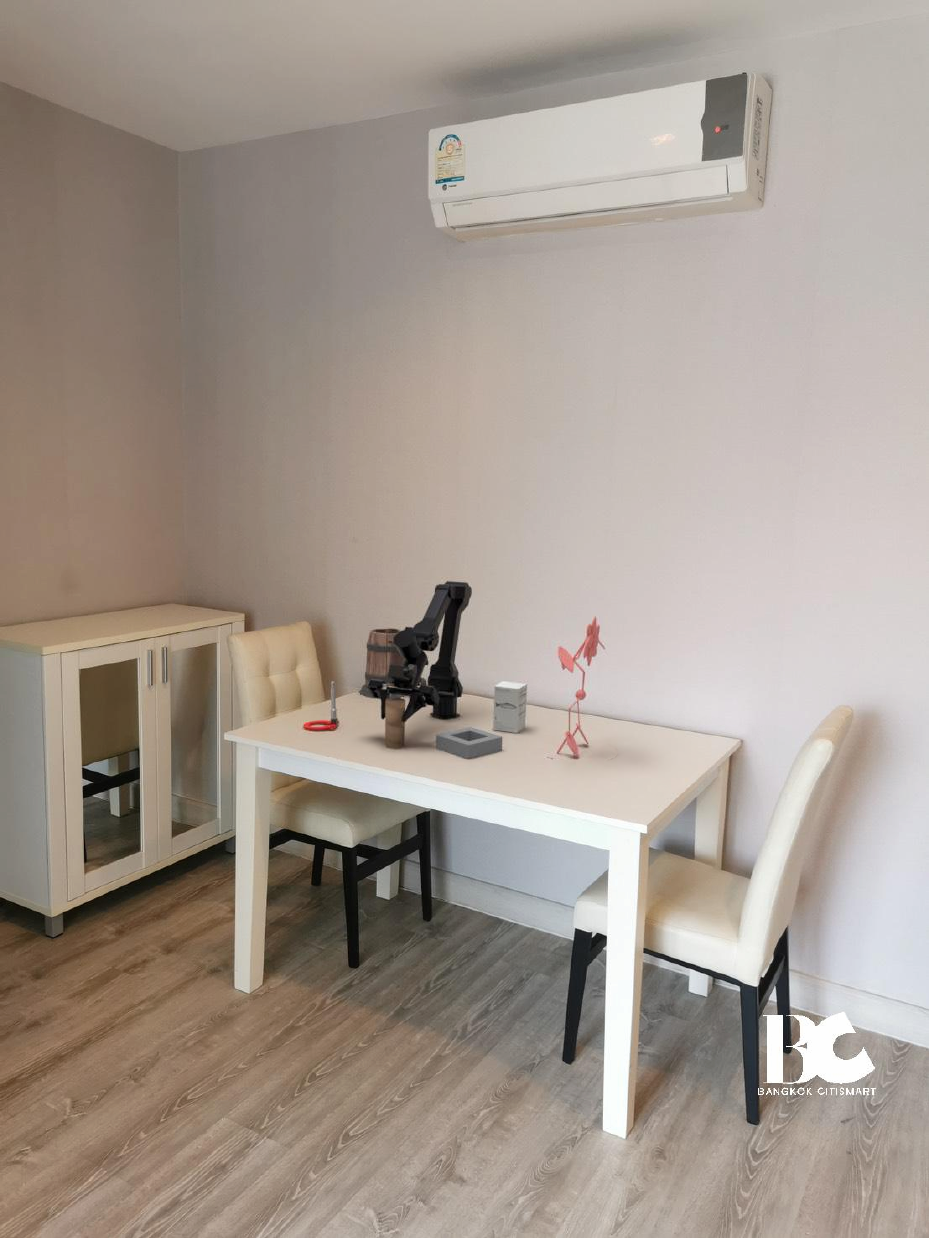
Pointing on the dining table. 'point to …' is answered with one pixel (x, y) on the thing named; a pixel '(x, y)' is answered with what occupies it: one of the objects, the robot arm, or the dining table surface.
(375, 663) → the tankard
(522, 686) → the supplement box
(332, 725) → the tow hook
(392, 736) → the walnut peg
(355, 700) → the dining table surface
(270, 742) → the dining table surface
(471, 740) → the socket block
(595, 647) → the figurine
